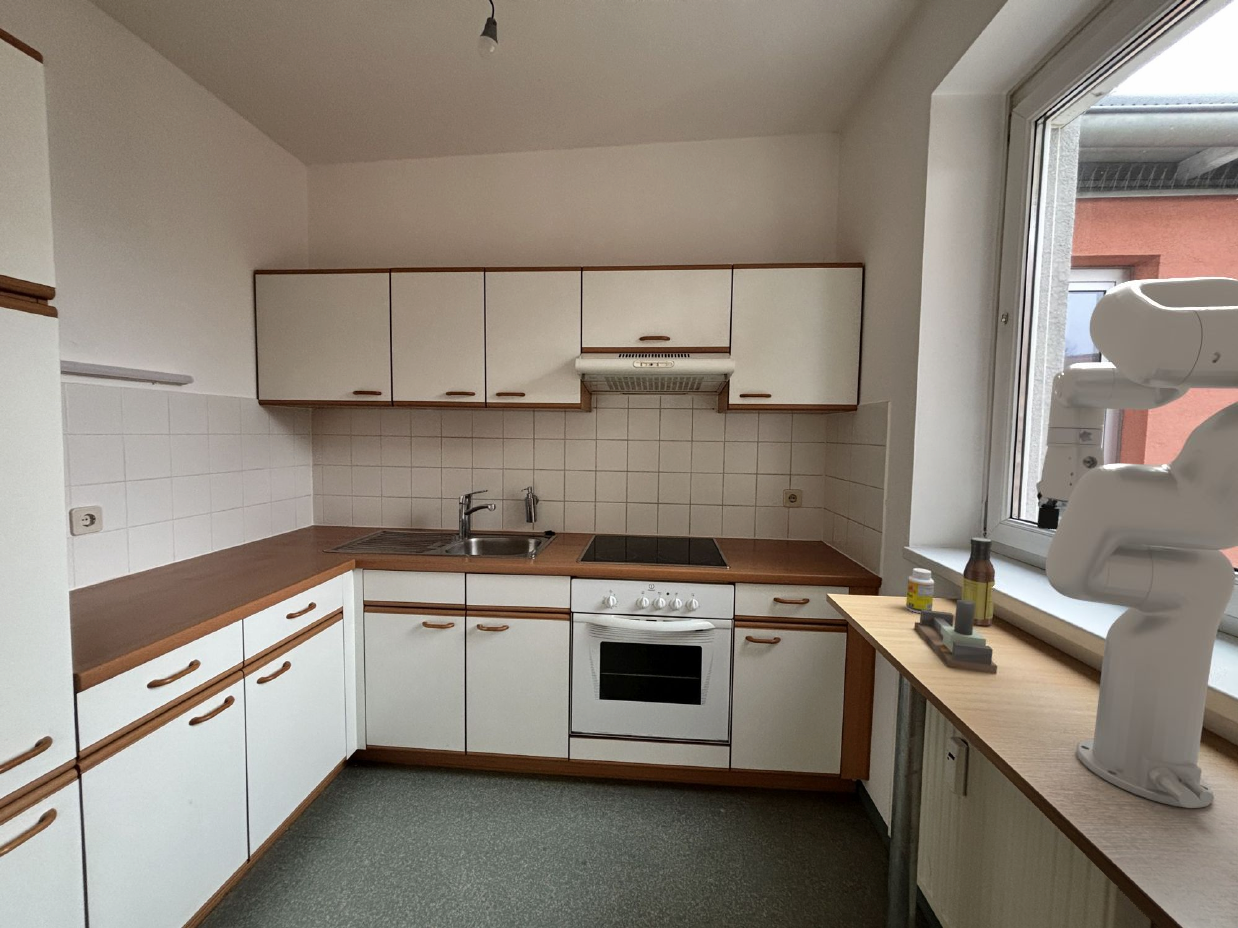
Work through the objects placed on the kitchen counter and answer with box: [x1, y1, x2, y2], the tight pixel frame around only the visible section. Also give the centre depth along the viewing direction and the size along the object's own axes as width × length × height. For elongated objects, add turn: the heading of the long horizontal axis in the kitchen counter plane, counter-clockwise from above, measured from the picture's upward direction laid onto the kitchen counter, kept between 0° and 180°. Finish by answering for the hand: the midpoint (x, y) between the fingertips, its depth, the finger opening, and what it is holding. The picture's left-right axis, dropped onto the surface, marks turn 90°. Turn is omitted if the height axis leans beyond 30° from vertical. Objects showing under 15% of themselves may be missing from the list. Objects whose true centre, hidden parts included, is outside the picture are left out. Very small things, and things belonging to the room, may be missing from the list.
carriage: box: [941, 599, 987, 652], centre depth 103 cm, size 5×6×10 cm
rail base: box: [914, 610, 998, 674], centre depth 108 cm, size 20×8×4 cm, turn 167°
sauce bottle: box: [961, 537, 996, 627], centre depth 125 cm, size 6×6×20 cm
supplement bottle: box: [905, 567, 935, 614], centre depth 131 cm, size 6×6×10 cm
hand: (1063, 533), depth 96 cm, fingers open, 9 cm apart
